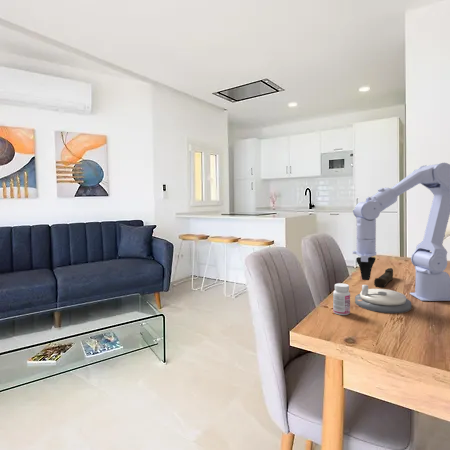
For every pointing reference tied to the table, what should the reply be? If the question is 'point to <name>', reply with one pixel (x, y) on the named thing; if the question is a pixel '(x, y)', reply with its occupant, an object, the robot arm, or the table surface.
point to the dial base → (383, 306)
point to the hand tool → (384, 278)
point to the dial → (382, 296)
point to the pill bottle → (341, 299)
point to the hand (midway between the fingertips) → (365, 279)
